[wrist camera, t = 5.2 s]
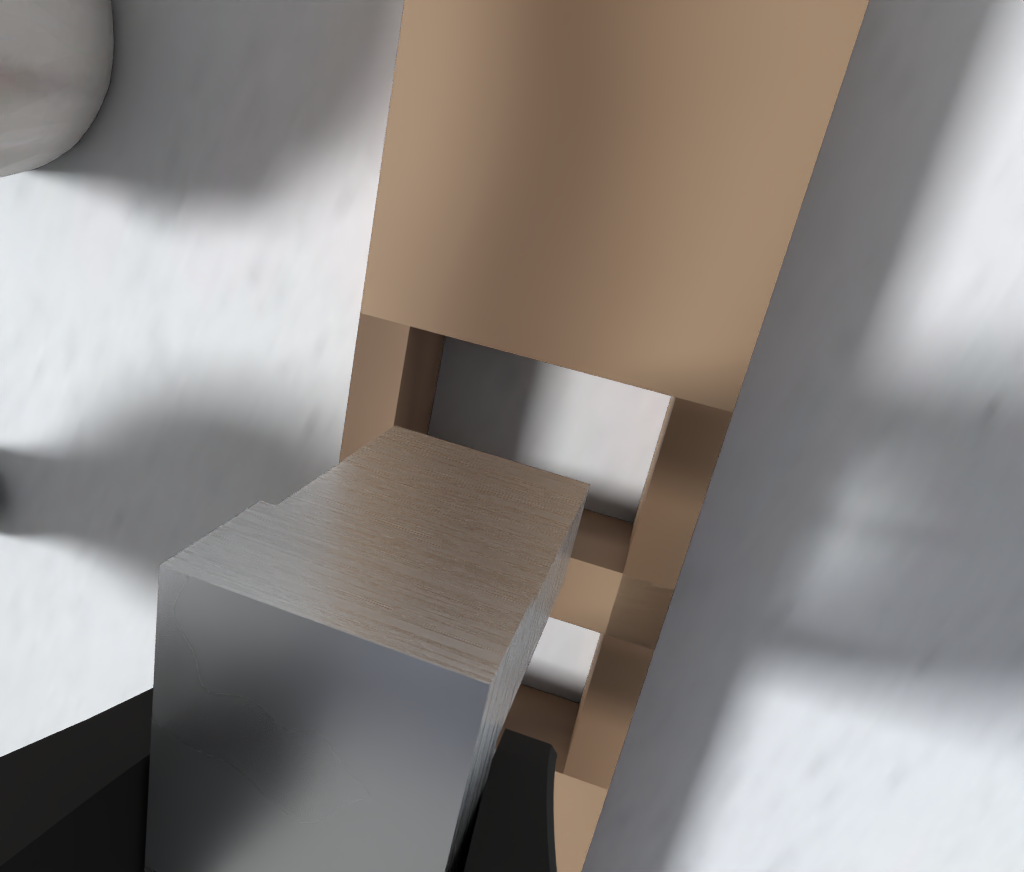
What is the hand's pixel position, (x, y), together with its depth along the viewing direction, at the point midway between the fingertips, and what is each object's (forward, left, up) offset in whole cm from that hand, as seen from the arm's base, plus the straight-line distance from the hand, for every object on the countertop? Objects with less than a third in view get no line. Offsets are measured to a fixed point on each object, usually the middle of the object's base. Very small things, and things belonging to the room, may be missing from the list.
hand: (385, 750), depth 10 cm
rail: (0, 0, -8) cm, 8 cm away
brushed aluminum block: (0, 0, -2) cm, 2 cm away
